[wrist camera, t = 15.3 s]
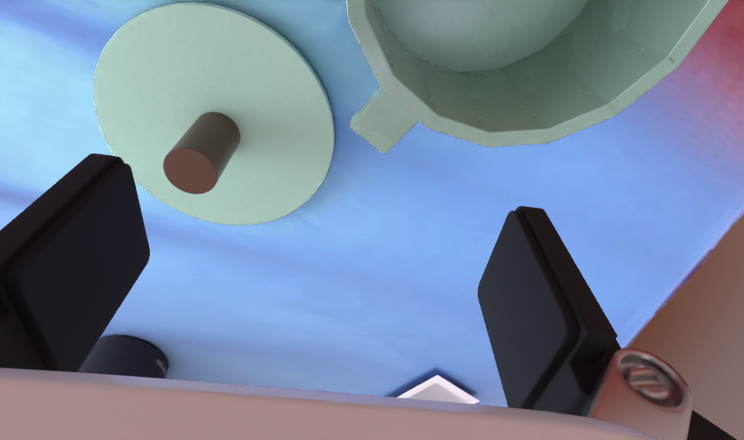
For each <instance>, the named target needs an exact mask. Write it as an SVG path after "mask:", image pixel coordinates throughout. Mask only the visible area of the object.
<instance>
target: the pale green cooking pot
mask: <svg viewBox="0 0 744 440" xmlns="http://www.w3.org/2000/svg"><path fill="white" fill-rule="evenodd" d="M728 1H729V0H346V8H347V18H348V19H349V20H348V21H349V24H350V26H351V28H352V30H353V32H354V34H355V36H356V38H357V40H358V42H359V44H360V46H361V48H362V50H363V53H364V55H365V57H366V59H367V61H368V63H369V65H370V67H371V69H372V71H373V73H374V75H375V77H376V79H377V81H378V83H379V85H380V87H379V88H378V89H377V90H376V91H375V92H374V94H373V95H372V96H371V97H370V98H369V99H368V100H367V101H366V103H365V104H364V105H363V106H362V107H361V108H360V109H359V110H358V112H357V113H356V114H355V115H354V116H353V117H352V118H351V121H350V128H351V129H353V130H354V131H355V132H357V133H358V134H359V135H360V136H362V137H363V138H364V139H365V140H367V141H368V142H369V143H370V144H372V145H373V146H374V147H375V148H377V149H378V150H379V151H380V152H382V153H383V154H386V153H387V152H388V151H389V150H390V149H391V148H392V147H393V146H394V145H395V144H396V143H397V142H398V141H399V140H400V139H401V138H402V137H403V136H404V135H405V134H406V133H407V132H408V131H409V130H410V129H411V128H412V127H413V126H414V125H415V124H416V123H417V122H418V121H420V122H421V123H422V124H423V125H425V126H426V127H427V128H429V129H432V130H435V131H438V132H441V133H444V134H447V135H450V136H454V137H457V138H460V139H463V140H466V141H469V142H472V143H475V144H478V145H481V146H486V147H495V146H511V145H527V144H543V143H550V142H553V141H555V140H558V139H560V138H563V137H565V136H568V135H570V134H573V133H575V132H578V131H580V130H582V129H585V128H587V127H590V126H592V125H595V124H597V123H600V122H602V121H605V120H607V119H610V118H612V117H614V116H616V115H617V114H619V113H620V112H621V111H622V110H624V109H625V108H626V107H628V106H629V105H630V104H631V103H633V102H634V101H635V100H637V99H638V98H639V97H640V96H642V95H643V94H644V93H645V92H647V91H648V90H649V89H651V88H652V87H653V86H654V85H656V84H657V83H658V82H660V81H661V80H662V79H663V78H665V77H666V76H667V75H668V74H670V73H671V72H672V71H674V70H675V69H676V68H677V67H678V66H679V65H680V64H681V63H682V61H683V60H684V59H685V57H686V56H687V55H688V53H689V52H690V51H691V50H692V48H693V47H694V46H695V44H696V43H697V42H698V40H699V39H700V38H701V36H702V35H703V34H704V32H705V31H706V30H707V28H708V27H709V26H710V24H711V23H712V22H713V20H714V19H715V18H716V16H717V15H718V14H719V12H720V11H721V10H722V8H723V7H724V6H725V4H726V3H727V2H728Z"/></svg>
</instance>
